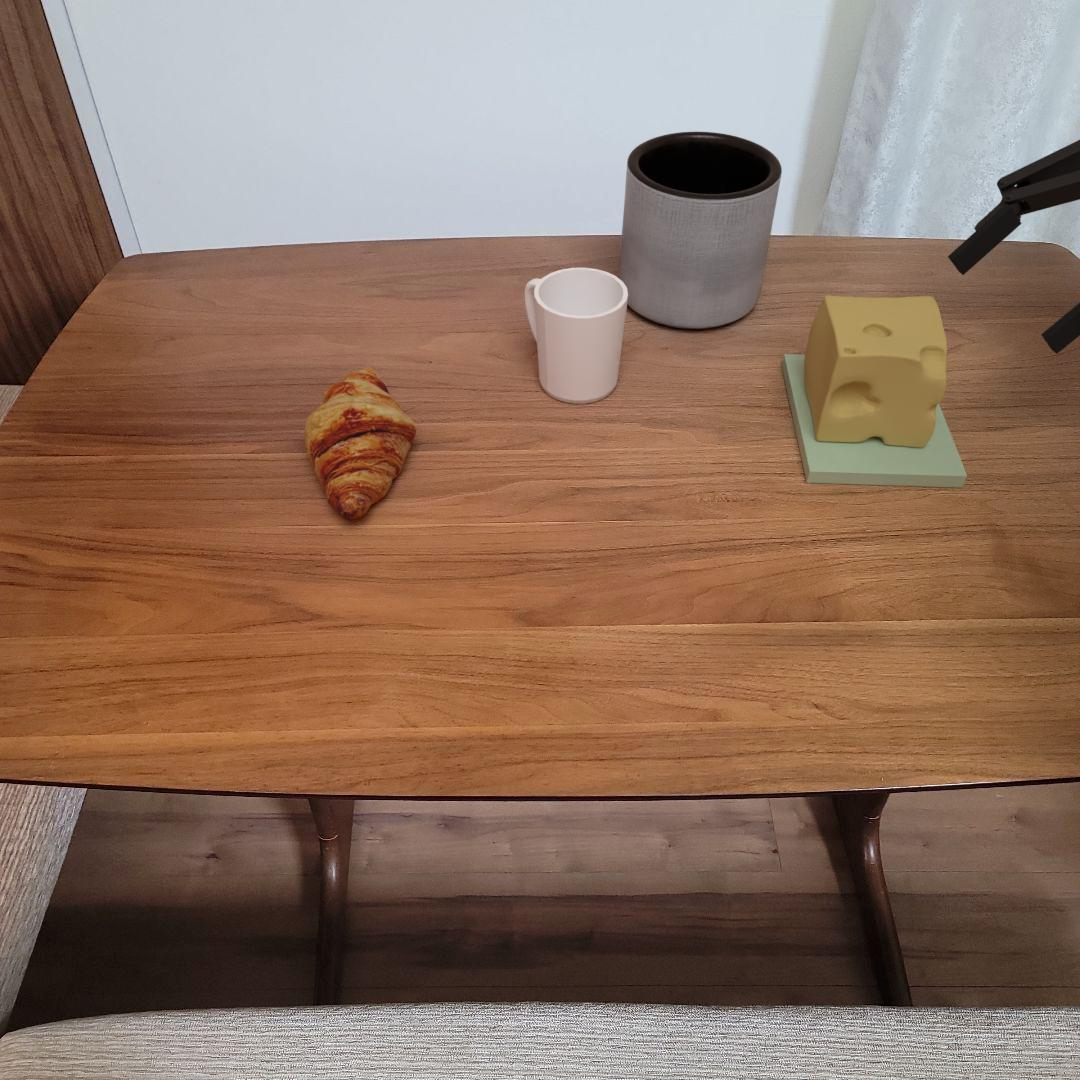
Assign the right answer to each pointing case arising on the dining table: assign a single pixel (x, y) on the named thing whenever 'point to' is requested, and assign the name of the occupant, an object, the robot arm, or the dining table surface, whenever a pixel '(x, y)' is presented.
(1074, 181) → the robot arm
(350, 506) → the croissant
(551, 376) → the mug
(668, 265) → the planter
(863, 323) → the cheese
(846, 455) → the board
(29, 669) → the dining table surface
